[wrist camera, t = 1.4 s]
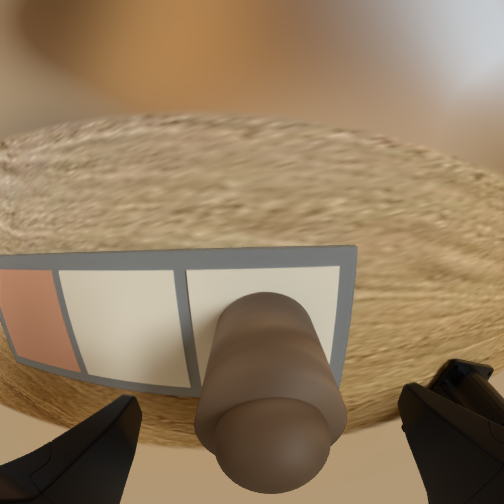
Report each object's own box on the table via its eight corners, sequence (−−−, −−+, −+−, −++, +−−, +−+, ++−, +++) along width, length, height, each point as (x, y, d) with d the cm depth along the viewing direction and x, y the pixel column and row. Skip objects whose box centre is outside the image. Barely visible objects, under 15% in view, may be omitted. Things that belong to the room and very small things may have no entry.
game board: (354, 245, 12) (358, 247, 11) (336, 387, 13) (338, 392, 13) (-12, 255, 12) (-17, 257, 11) (19, 359, 14) (15, 362, 13)
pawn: (329, 309, 12) (401, 444, 4) (288, 382, 13) (310, 516, 5) (234, 277, 11) (208, 421, 4) (204, 358, 12) (170, 498, 5)
